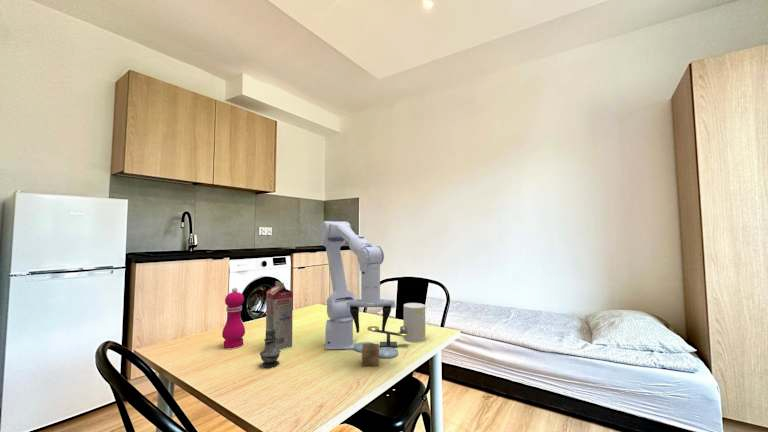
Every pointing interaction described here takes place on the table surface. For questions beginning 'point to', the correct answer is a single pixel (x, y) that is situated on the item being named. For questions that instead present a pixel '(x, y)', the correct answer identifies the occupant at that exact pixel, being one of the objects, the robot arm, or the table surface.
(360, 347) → the dish left
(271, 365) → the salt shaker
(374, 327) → the balance
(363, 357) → the block
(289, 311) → the juice carton
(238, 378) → the table surface
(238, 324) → the pepper mill
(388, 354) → the dish right
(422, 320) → the cup
